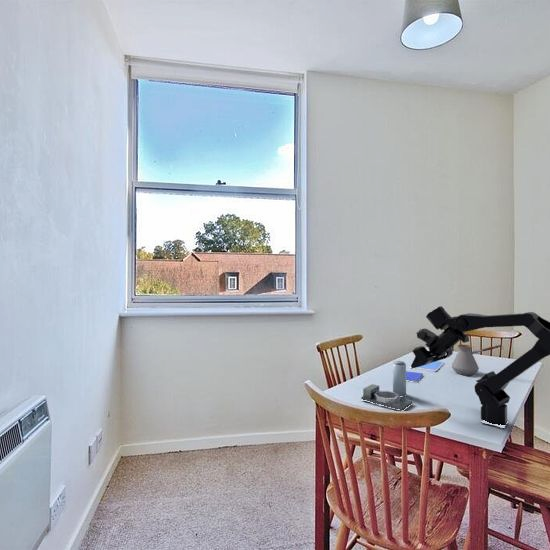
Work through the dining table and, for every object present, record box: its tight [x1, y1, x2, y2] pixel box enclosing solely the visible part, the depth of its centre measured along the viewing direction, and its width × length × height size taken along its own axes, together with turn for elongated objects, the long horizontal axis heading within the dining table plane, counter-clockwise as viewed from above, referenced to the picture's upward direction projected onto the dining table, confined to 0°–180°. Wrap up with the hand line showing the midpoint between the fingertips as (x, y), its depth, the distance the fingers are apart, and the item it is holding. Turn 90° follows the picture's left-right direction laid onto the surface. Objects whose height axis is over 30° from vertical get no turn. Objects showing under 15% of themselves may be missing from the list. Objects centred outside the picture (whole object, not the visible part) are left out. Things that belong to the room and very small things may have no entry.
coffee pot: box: [451, 344, 505, 376], centre depth 168 cm, size 21×12×15 cm, turn 53°
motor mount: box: [360, 383, 414, 411], centre depth 135 cm, size 16×9×4 cm, turn 46°
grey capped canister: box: [392, 360, 407, 396], centre depth 143 cm, size 5×5×13 cm
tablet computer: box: [409, 361, 445, 373], centre depth 184 cm, size 19×13×1 cm, turn 144°
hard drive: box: [406, 370, 424, 383], centre depth 165 cm, size 2×8×12 cm
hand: (418, 365), depth 136 cm, fingers open, 9 cm apart
